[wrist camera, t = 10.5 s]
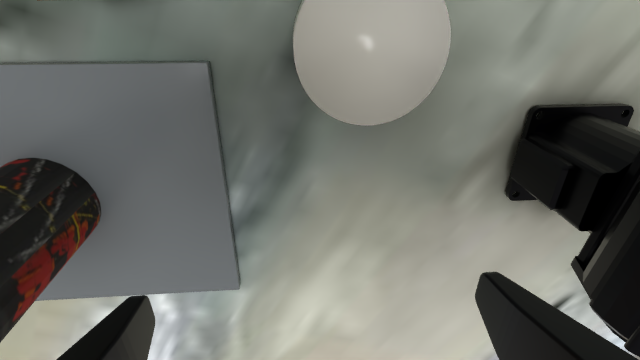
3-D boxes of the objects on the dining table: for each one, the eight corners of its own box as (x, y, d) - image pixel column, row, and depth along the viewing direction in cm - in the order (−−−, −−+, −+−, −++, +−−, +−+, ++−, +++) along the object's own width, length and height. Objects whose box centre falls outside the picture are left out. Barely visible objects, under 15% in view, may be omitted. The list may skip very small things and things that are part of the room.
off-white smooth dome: (429, -36, 18) (465, -43, 14) (412, 102, 21) (437, 123, 17) (290, -37, 17) (290, -45, 14) (294, 104, 20) (295, 127, 17)
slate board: (209, 61, 19) (206, 62, 18) (240, 283, 26) (239, 289, 26) (-115, 64, 18) (-127, 66, 17) (14, 295, 25) (8, 302, 25)
